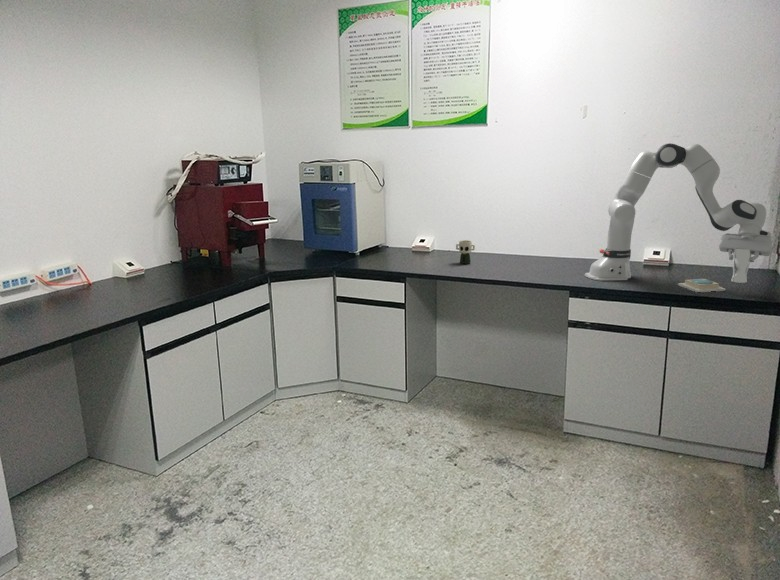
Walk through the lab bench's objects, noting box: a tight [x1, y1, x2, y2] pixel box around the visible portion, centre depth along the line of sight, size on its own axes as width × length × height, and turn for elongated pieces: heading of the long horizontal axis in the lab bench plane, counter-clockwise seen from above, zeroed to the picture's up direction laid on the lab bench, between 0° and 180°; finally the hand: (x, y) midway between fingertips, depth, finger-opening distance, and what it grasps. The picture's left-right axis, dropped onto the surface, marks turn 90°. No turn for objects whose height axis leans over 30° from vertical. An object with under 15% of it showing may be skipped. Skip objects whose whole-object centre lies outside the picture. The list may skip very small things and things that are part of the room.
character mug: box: [455, 239, 476, 265], centre depth 329 cm, size 11×7×13 cm, turn 69°
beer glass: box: [731, 248, 752, 284], centre depth 255 cm, size 7×7×15 cm
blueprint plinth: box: [677, 278, 726, 293], centre depth 267 cm, size 14×14×3 cm
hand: (741, 260), depth 254 cm, fingers closed on beer glass, 7 cm apart
